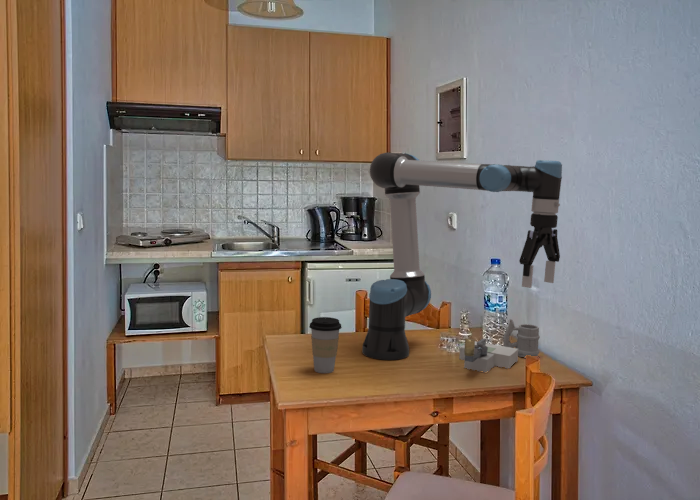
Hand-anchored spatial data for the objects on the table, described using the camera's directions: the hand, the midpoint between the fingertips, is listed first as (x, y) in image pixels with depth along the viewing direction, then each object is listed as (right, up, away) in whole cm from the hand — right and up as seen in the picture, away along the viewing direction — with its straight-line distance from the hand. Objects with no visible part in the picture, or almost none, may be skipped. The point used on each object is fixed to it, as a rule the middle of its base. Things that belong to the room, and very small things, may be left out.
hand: (537, 284), depth 189 cm
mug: (0, -25, +20) cm, 31 cm away
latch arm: (-19, -22, +1) cm, 29 cm away
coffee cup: (-64, -25, -2) cm, 68 cm away
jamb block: (-17, -26, +5) cm, 31 cm away
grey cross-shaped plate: (-12, -25, +13) cm, 30 cm away
